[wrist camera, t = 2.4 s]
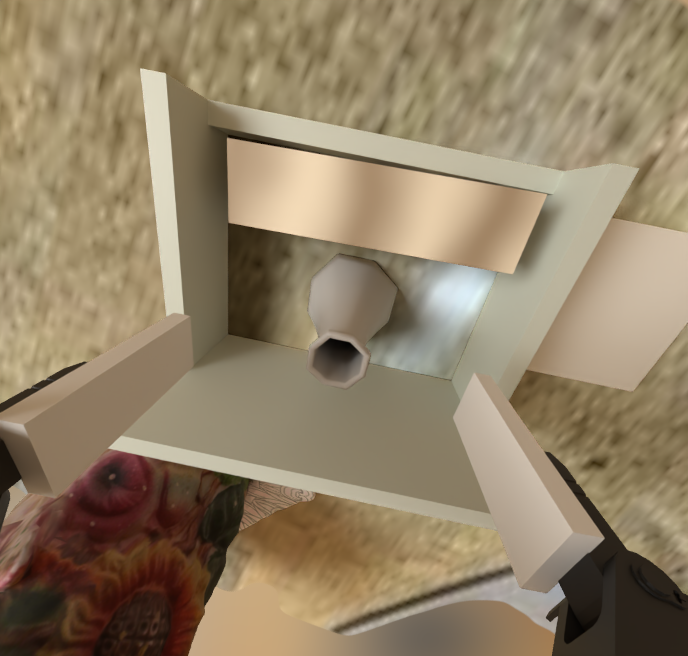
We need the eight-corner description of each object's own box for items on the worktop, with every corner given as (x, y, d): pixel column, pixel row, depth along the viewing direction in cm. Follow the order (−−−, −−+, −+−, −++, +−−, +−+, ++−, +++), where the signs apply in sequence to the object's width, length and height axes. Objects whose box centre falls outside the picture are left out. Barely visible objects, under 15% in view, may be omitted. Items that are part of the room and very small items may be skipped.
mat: (734, 243, 18) (749, 245, 18) (624, 385, 23) (632, 391, 23) (573, 211, 18) (581, 211, 18) (498, 359, 24) (502, 364, 23)
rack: (557, 179, 18) (849, 141, 7) (459, 393, 25) (525, 536, 14) (210, 109, 18) (-38, -36, 7) (215, 342, 26) (99, 446, 15)
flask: (333, 236, 21) (302, 261, 12) (413, 283, 22) (443, 341, 12) (294, 312, 24) (245, 381, 15) (366, 351, 24) (363, 438, 15)
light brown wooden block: (496, 196, 19) (547, 194, 13) (475, 255, 20) (512, 274, 15) (255, 154, 19) (209, 134, 14) (254, 215, 21) (212, 219, 15)
